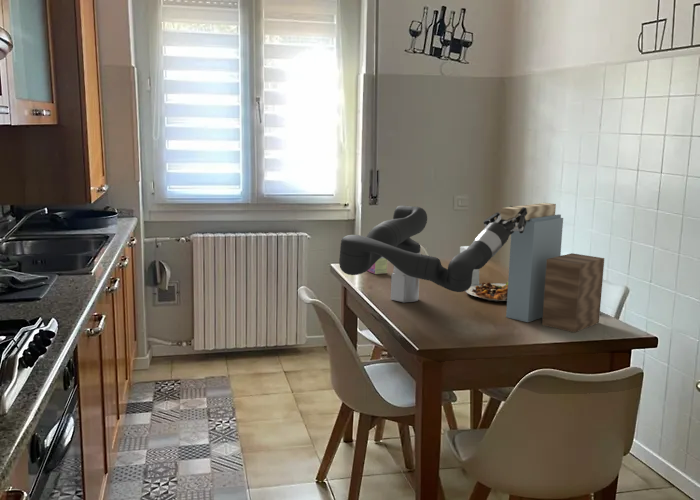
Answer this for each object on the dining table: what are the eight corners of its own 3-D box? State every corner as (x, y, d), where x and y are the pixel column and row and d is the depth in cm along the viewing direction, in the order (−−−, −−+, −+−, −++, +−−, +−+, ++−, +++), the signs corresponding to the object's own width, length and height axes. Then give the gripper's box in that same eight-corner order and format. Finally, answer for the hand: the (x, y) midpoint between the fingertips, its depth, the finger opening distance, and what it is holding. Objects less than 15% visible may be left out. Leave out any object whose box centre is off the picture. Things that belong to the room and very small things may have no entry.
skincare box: (479, 286, 271) (481, 248, 268) (464, 286, 270) (466, 248, 267) (472, 281, 279) (474, 245, 276) (458, 281, 278) (459, 245, 276)
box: (363, 269, 298) (364, 242, 296) (375, 268, 300) (376, 241, 298) (374, 274, 289) (375, 246, 287) (386, 273, 291) (387, 245, 289)
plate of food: (543, 291, 266) (543, 275, 265) (543, 308, 239) (543, 290, 238) (469, 287, 273) (469, 272, 272) (460, 303, 247) (461, 287, 246)
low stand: (574, 332, 211) (580, 264, 208) (542, 324, 219) (546, 259, 215) (598, 322, 223) (604, 258, 219) (567, 315, 230) (571, 253, 227)
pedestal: (527, 322, 222) (534, 219, 216) (506, 317, 227) (512, 216, 221) (556, 312, 234) (563, 214, 228) (535, 308, 240) (541, 212, 234)
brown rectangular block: (511, 222, 210) (512, 209, 210) (500, 221, 213) (500, 208, 212) (555, 216, 228) (555, 203, 228) (544, 214, 231) (544, 202, 231)
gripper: (507, 233, 200) (536, 200, 209) (467, 228, 210) (496, 196, 219) (513, 254, 204) (541, 221, 213) (473, 247, 214) (501, 216, 223)
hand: (518, 209), depth 216 cm, fingers closed on brown rectangular block, 4 cm apart
